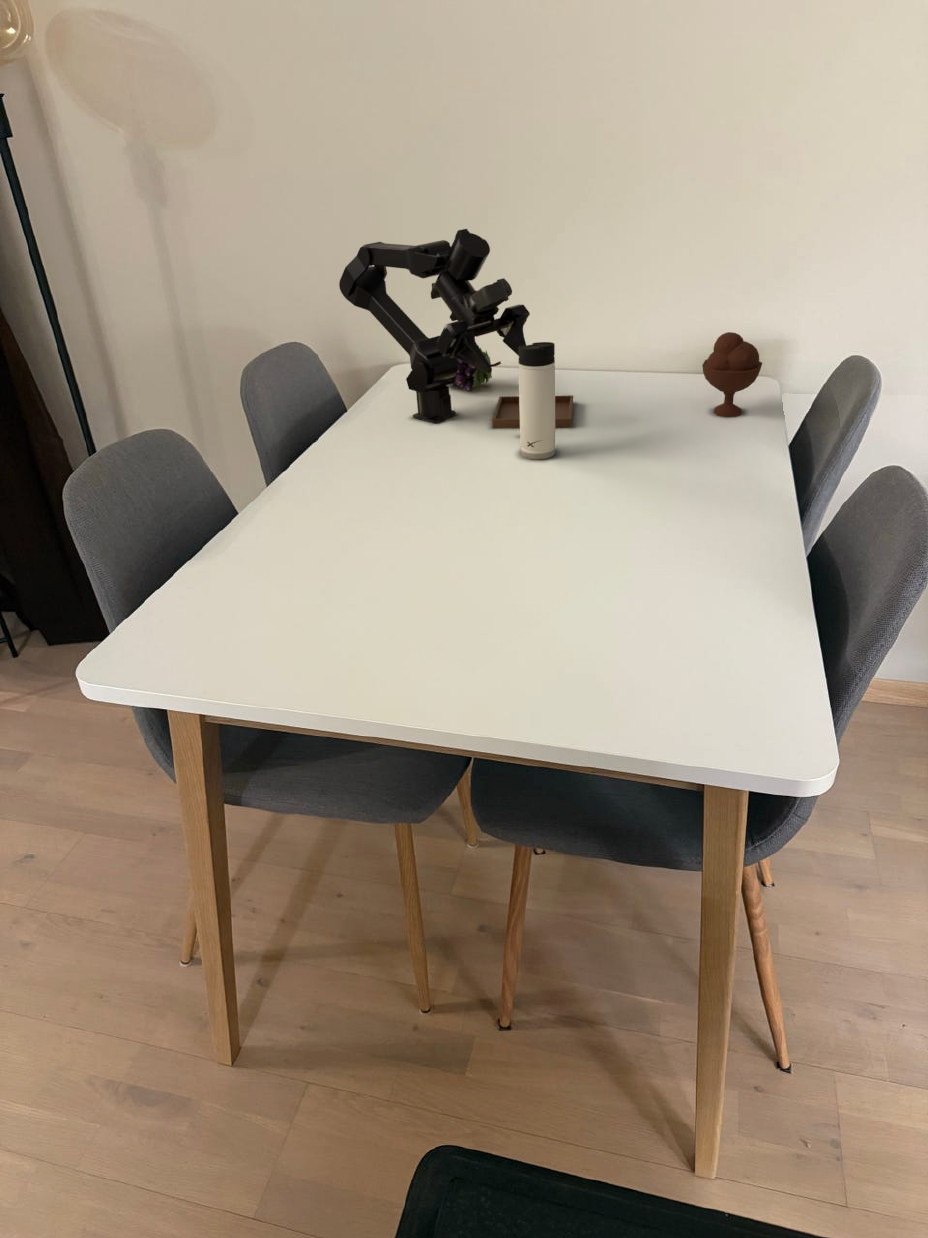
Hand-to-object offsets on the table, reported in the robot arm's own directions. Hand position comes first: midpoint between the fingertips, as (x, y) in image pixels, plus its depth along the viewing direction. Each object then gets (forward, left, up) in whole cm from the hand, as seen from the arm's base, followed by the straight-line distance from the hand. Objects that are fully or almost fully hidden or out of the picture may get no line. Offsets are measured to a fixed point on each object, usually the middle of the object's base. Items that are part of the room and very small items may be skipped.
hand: (509, 365), depth 161 cm
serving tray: (-6, +14, -14) cm, 21 cm away
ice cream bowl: (+26, +35, -15) cm, 46 cm away
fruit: (-29, +21, -15) cm, 38 cm away
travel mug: (+7, -2, -15) cm, 17 cm away
